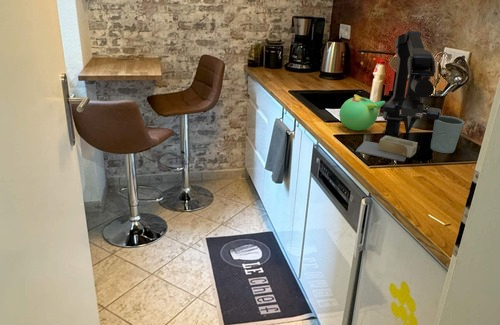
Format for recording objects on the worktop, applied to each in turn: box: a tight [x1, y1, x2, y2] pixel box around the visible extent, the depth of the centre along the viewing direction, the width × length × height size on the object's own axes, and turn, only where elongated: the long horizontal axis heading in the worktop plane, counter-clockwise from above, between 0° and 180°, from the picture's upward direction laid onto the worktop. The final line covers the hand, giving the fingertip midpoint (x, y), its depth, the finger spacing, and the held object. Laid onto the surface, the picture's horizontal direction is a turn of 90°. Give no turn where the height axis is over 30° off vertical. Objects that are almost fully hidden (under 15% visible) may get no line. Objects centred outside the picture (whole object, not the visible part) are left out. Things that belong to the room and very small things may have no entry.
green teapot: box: [338, 94, 386, 132], centre depth 174 cm, size 18×17×15 cm
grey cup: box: [430, 115, 465, 154], centre depth 154 cm, size 10×10×12 cm
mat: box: [355, 140, 408, 162], centre depth 153 cm, size 13×18×1 cm
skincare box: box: [378, 135, 418, 158], centre depth 151 cm, size 6×4×12 cm
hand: (407, 133), depth 147 cm, fingers closed
